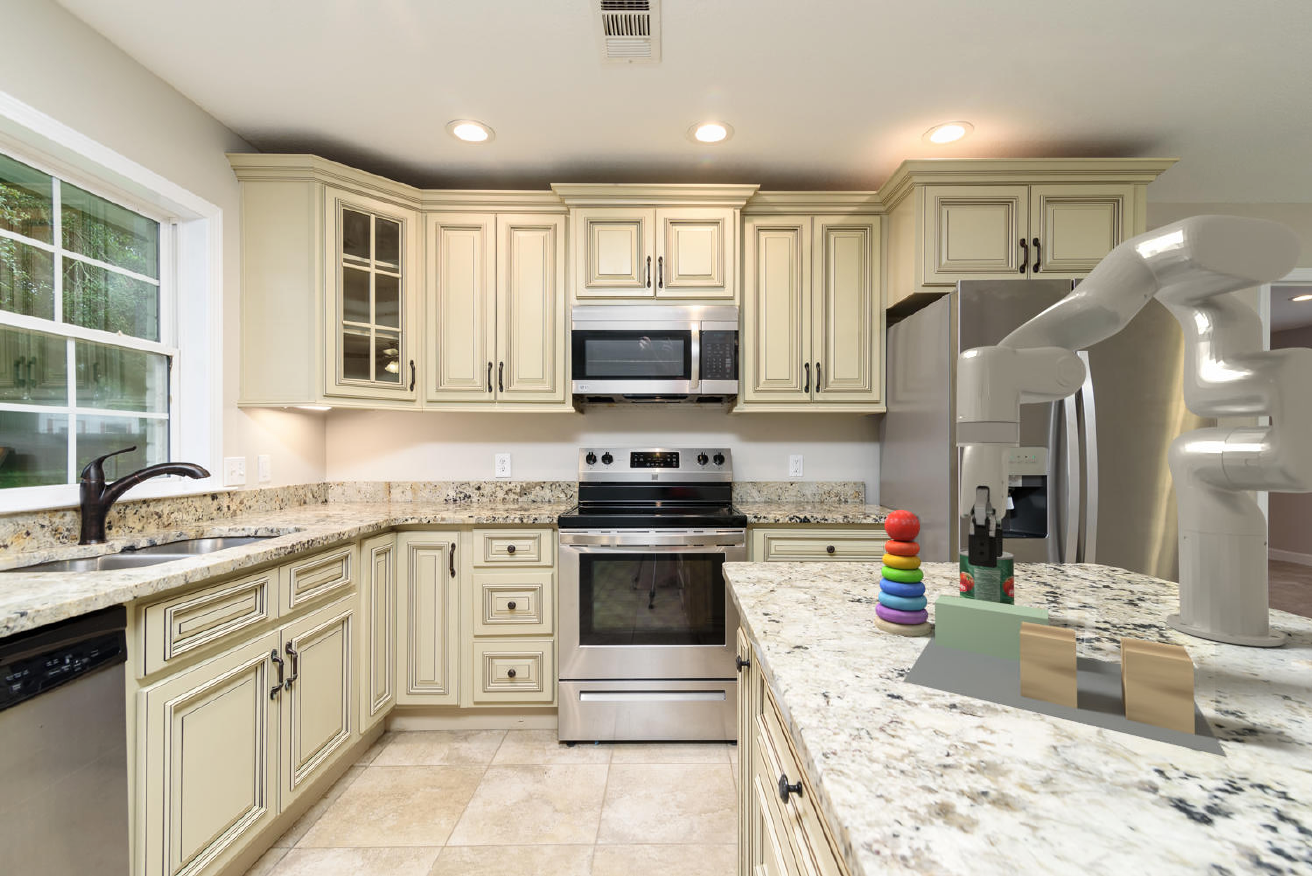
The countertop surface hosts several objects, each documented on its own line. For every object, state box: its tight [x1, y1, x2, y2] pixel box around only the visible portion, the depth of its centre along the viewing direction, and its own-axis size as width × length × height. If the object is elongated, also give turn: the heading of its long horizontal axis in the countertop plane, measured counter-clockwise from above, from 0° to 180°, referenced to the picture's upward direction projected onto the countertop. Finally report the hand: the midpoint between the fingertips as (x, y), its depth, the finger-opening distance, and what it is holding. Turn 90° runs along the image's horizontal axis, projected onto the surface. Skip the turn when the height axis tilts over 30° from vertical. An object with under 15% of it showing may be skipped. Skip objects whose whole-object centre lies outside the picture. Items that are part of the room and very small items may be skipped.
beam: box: [934, 594, 1050, 661], centre depth 75 cm, size 5×13×6 cm, turn 54°
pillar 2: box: [1120, 636, 1195, 735], centre depth 56 cm, size 5×5×7 cm
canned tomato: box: [958, 548, 1015, 605], centre depth 91 cm, size 8×8×11 cm
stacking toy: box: [873, 509, 932, 637], centre depth 85 cm, size 8×8×19 cm
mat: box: [903, 632, 1227, 758], centre depth 66 cm, size 22×27×1 cm
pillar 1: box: [1020, 622, 1077, 708], centre depth 62 cm, size 5×5×7 cm
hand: (986, 560), depth 75 cm, fingers open, 9 cm apart
